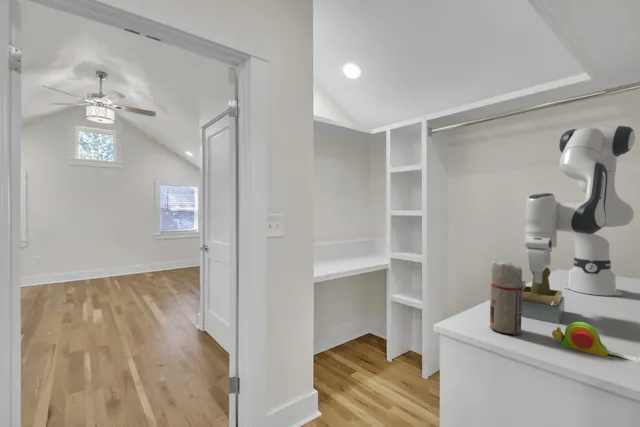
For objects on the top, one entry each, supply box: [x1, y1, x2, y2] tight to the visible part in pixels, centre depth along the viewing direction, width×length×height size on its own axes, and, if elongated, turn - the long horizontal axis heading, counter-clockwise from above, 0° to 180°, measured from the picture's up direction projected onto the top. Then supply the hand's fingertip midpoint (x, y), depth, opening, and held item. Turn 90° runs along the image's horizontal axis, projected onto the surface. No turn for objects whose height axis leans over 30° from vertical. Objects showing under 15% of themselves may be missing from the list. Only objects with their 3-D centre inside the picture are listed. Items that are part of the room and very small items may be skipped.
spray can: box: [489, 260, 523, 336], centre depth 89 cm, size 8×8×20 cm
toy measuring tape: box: [551, 321, 640, 363], centre depth 75 cm, size 6×20×7 cm, turn 52°
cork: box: [530, 267, 551, 296], centre depth 104 cm, size 6×6×11 cm
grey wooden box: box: [521, 280, 565, 325], centre depth 104 cm, size 16×12×9 cm
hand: (540, 281), depth 104 cm, fingers open, 4 cm apart
